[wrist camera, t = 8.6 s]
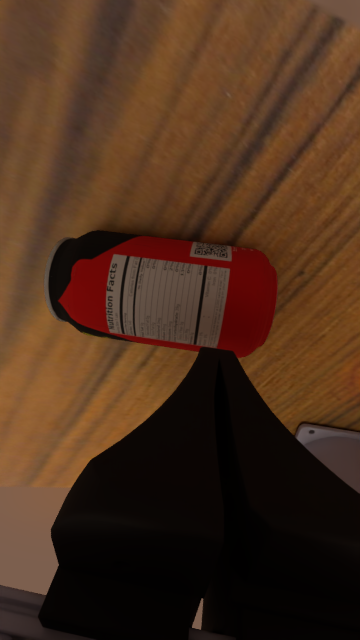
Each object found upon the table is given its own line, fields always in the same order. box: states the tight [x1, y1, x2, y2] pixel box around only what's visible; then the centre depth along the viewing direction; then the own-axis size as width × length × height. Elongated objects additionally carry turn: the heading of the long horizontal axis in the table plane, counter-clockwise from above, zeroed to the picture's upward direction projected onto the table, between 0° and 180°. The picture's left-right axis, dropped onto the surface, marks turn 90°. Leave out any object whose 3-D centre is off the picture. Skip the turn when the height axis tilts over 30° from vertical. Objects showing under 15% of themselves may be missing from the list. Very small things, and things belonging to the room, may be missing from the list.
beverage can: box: [44, 230, 278, 358], centre depth 16 cm, size 6×6×12 cm
